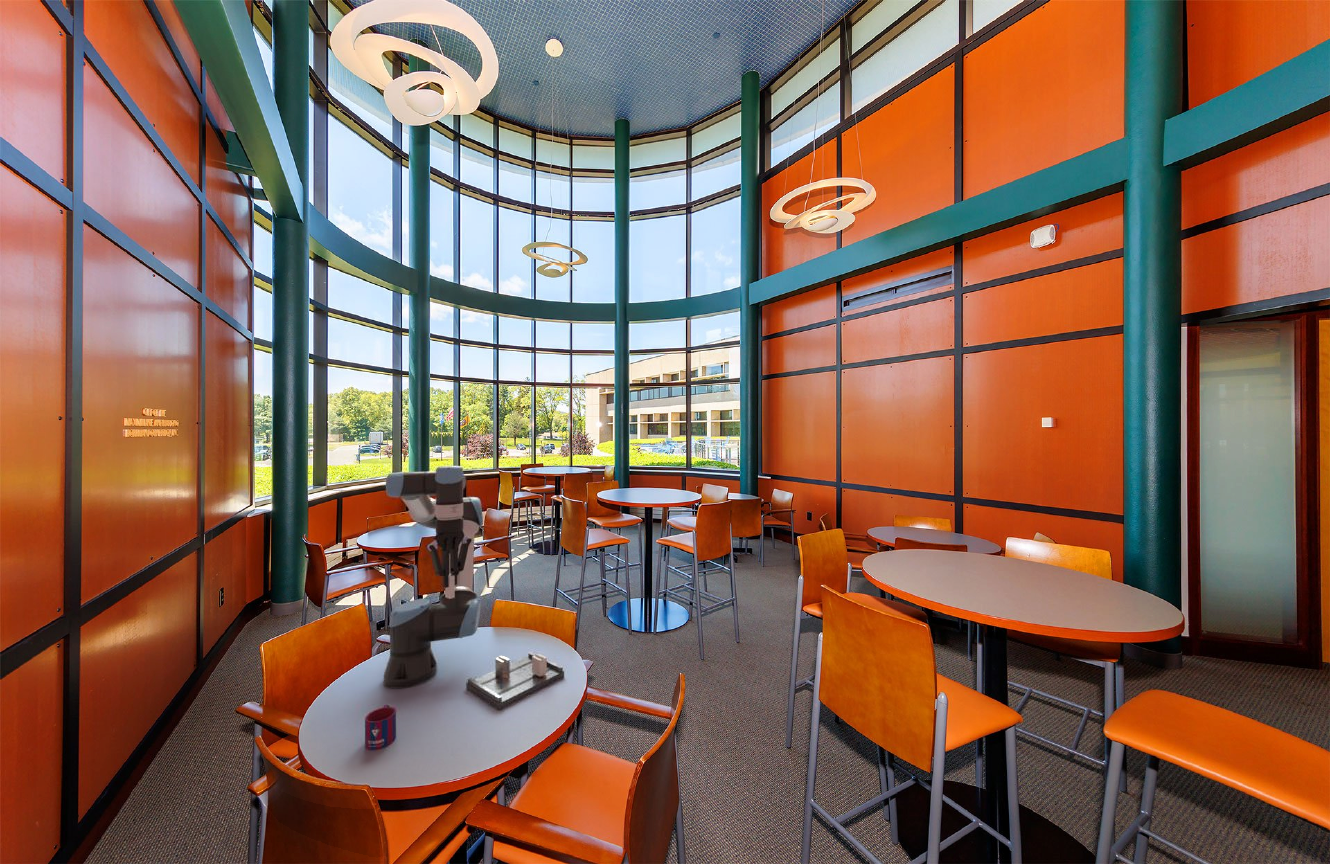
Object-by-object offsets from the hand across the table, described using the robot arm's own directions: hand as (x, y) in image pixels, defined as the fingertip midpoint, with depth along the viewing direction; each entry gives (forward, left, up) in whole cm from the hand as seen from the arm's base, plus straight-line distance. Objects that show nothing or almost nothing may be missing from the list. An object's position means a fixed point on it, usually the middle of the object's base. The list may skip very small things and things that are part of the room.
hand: (449, 597), depth 138 cm
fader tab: (+13, +22, -27) cm, 37 cm away
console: (+9, +17, -29) cm, 35 cm away
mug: (+5, -20, -30) cm, 36 cm away
